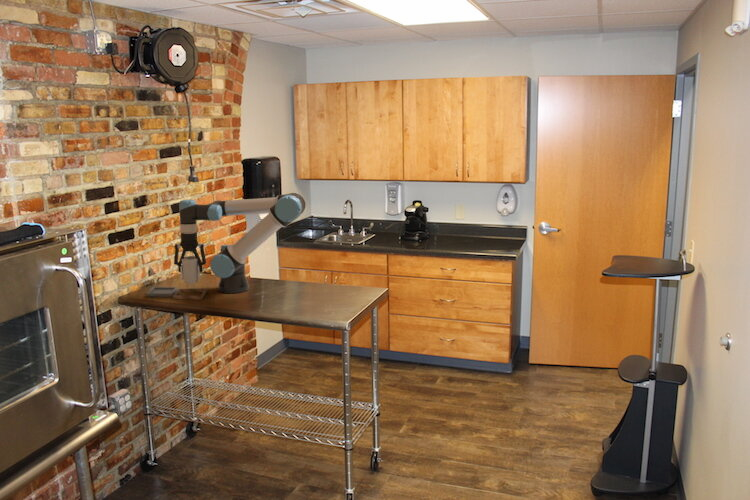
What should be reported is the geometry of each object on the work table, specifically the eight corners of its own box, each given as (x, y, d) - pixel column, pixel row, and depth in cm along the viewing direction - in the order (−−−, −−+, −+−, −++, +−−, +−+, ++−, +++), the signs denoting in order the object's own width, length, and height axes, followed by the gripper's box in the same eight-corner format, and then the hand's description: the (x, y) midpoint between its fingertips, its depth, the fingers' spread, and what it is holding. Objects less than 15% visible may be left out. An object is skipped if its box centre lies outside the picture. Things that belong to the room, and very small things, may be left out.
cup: (194, 284, 292) (193, 260, 290) (179, 283, 294) (178, 259, 292) (202, 280, 300) (201, 256, 298) (187, 279, 302) (186, 255, 299)
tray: (178, 290, 306) (177, 287, 306) (172, 297, 294) (172, 293, 294) (153, 290, 305) (153, 286, 305) (146, 297, 293) (146, 293, 293)
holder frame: (207, 291, 306) (207, 288, 305) (202, 299, 292) (202, 296, 292) (179, 291, 304) (179, 288, 304) (173, 299, 291) (172, 296, 291)
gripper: (211, 230, 297) (213, 276, 301) (168, 230, 295) (171, 276, 300) (208, 233, 289) (210, 280, 294) (164, 233, 288) (167, 280, 292)
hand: (190, 278), depth 297 cm, fingers closed on cup, 7 cm apart
